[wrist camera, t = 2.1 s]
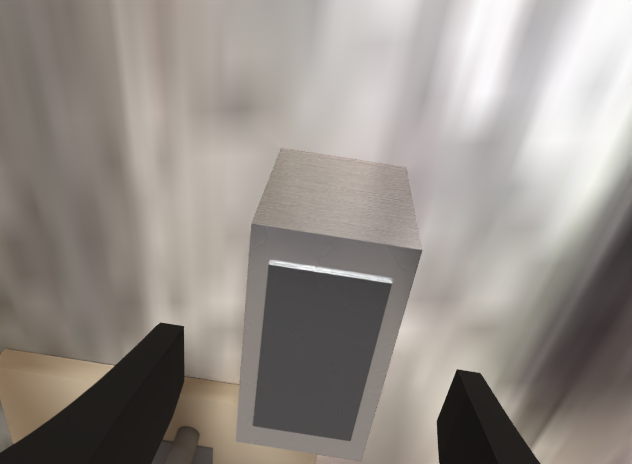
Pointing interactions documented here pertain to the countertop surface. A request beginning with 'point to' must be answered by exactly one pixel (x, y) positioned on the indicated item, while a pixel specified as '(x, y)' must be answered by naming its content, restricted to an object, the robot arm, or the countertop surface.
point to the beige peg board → (183, 431)
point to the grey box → (324, 301)
